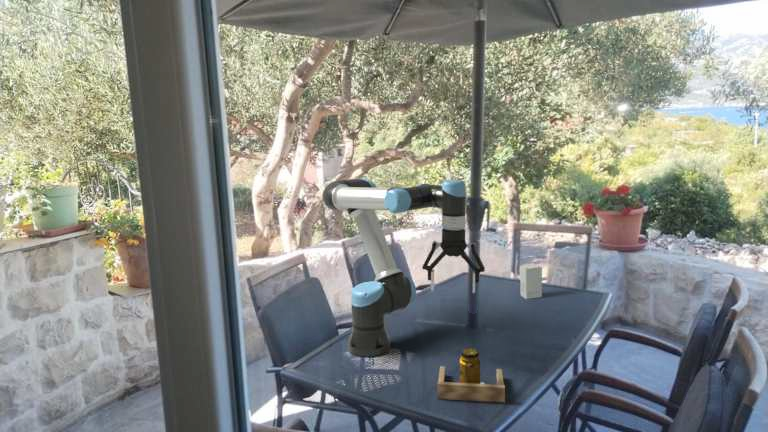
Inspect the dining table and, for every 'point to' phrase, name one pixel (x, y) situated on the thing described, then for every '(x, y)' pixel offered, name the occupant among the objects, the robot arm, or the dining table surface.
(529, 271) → the skincare box
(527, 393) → the dining table surface
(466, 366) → the condiment
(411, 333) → the dining table surface
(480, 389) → the bay
